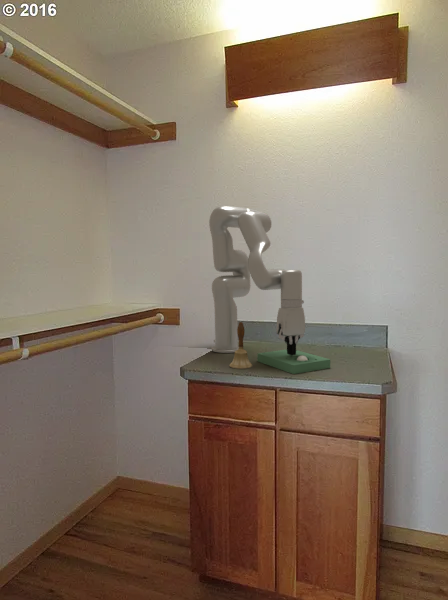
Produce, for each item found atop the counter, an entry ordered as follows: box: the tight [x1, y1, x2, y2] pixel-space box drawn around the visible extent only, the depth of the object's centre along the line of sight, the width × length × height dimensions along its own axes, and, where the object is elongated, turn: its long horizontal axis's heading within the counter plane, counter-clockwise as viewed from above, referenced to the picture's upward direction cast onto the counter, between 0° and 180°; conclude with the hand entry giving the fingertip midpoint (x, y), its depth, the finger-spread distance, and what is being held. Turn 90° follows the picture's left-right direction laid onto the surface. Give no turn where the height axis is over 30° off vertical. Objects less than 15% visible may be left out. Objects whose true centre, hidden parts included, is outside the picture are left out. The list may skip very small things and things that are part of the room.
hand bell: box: [228, 321, 253, 370], centre depth 156 cm, size 8×8×16 cm
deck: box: [256, 348, 331, 375], centre depth 158 cm, size 22×16×3 cm
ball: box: [297, 356, 308, 361], centre depth 152 cm, size 4×4×4 cm
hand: (291, 354), depth 158 cm, fingers closed
